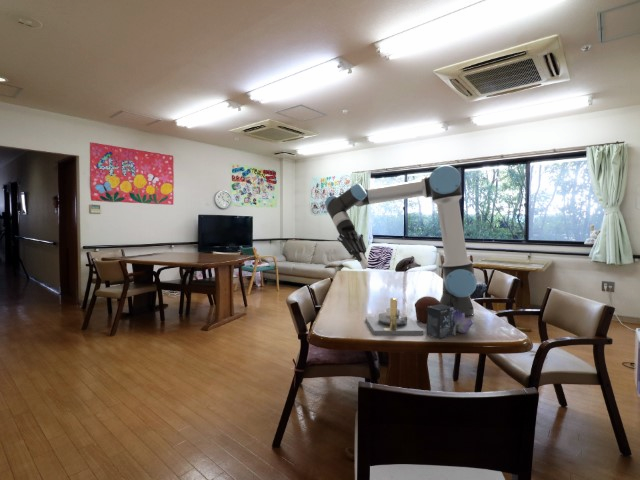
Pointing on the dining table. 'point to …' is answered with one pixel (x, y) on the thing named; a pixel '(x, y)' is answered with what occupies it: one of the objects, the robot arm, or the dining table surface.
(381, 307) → the dining table surface
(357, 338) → the dining table surface
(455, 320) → the flower
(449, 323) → the box
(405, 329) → the stand
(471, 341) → the dining table surface
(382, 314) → the crank handle
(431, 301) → the muffin
